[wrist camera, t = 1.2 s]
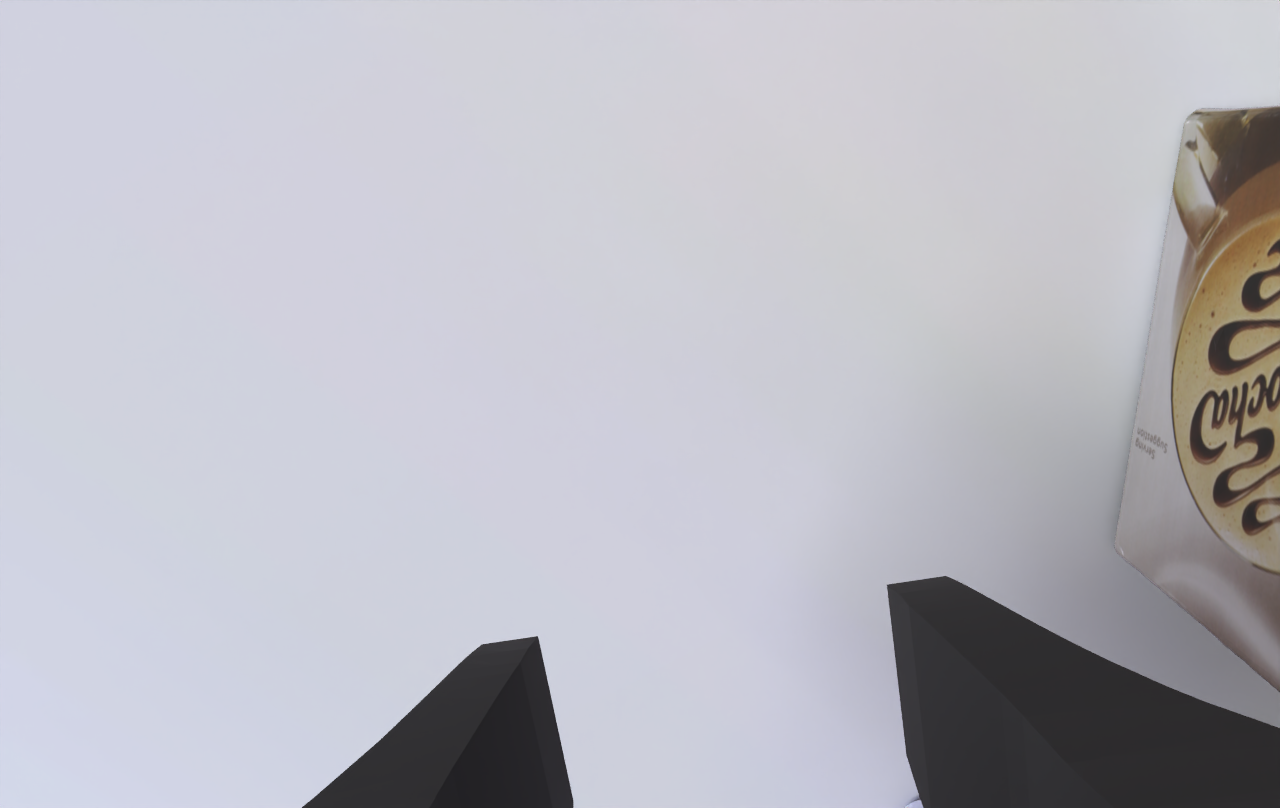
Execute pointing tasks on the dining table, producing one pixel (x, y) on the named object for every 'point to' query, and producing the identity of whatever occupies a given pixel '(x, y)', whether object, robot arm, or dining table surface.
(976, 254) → the dining table surface
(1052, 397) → the dining table surface
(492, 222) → the dining table surface
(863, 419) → the dining table surface
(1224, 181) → the coffee box
